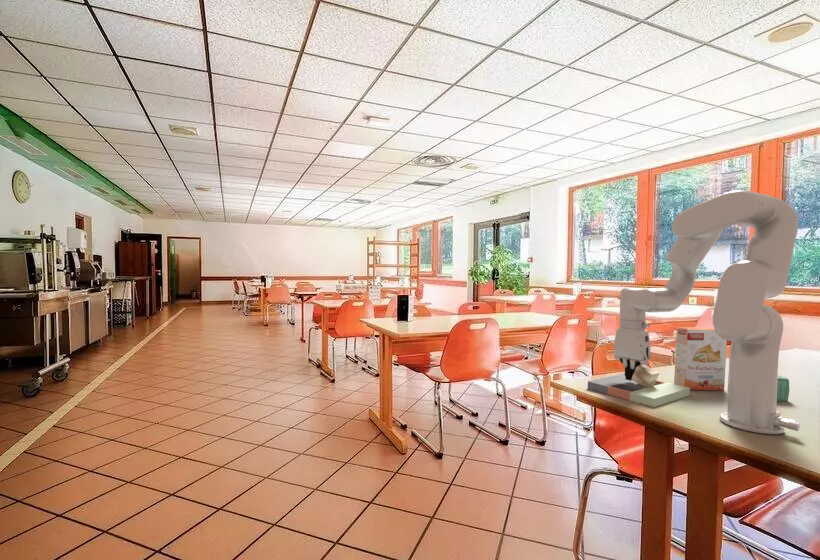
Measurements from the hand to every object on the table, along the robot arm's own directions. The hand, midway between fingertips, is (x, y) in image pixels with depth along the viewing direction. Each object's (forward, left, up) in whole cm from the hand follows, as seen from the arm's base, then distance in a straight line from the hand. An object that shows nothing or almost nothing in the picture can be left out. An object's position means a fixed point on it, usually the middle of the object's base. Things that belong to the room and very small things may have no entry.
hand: (630, 379), depth 132 cm
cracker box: (-11, -24, -4) cm, 27 cm away
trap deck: (-3, 0, -4) cm, 4 cm away
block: (-4, 0, 0) cm, 4 cm away
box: (-25, -30, -4) cm, 39 cm away
